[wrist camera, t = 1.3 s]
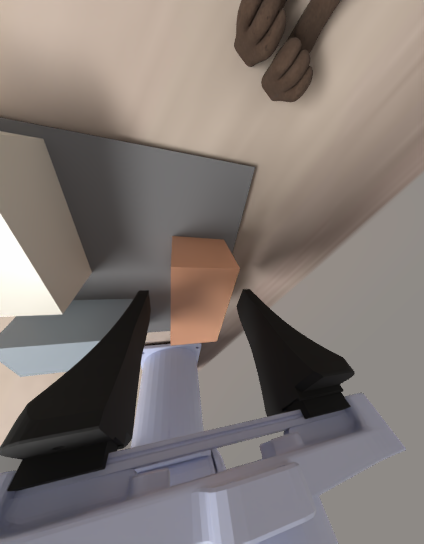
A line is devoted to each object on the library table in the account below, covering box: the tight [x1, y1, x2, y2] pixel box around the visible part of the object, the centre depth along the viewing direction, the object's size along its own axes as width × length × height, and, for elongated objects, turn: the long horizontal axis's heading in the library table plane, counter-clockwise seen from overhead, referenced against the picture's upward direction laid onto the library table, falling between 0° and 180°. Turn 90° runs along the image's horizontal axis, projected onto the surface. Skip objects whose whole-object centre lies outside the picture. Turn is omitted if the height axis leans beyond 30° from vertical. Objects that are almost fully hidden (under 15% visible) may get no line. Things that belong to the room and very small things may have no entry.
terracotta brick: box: [171, 236, 240, 346], centre depth 13 cm, size 8×4×4 cm, turn 171°
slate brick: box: [0, 299, 133, 377], centre depth 13 cm, size 8×4×4 cm, turn 81°
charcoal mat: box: [0, 117, 255, 332], centre depth 13 cm, size 17×17×1 cm
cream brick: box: [0, 131, 92, 317], centre depth 8 cm, size 8×4×4 cm, turn 171°
